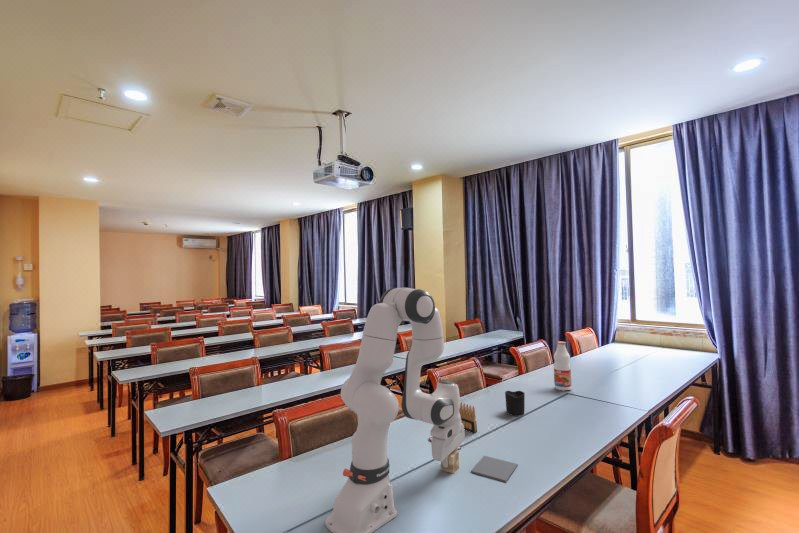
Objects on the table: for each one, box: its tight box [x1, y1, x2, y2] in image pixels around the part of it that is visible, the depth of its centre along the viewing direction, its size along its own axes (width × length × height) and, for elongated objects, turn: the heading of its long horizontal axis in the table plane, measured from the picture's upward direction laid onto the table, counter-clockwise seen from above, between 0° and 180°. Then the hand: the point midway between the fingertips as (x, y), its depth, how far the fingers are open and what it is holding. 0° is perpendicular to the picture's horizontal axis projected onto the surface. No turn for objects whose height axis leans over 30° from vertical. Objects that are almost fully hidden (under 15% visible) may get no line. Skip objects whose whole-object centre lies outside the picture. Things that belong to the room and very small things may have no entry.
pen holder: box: [504, 390, 526, 416], centre depth 194 cm, size 9×9×10 cm
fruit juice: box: [553, 340, 573, 391], centre depth 229 cm, size 9×9×28 cm
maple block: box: [440, 450, 460, 475], centre depth 141 cm, size 5×5×6 cm
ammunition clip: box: [459, 401, 478, 434], centre depth 175 cm, size 11×2×12 cm, turn 41°
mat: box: [470, 455, 519, 483], centre depth 140 cm, size 13×13×1 cm
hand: (450, 462), depth 141 cm, fingers closed on maple block, 5 cm apart
